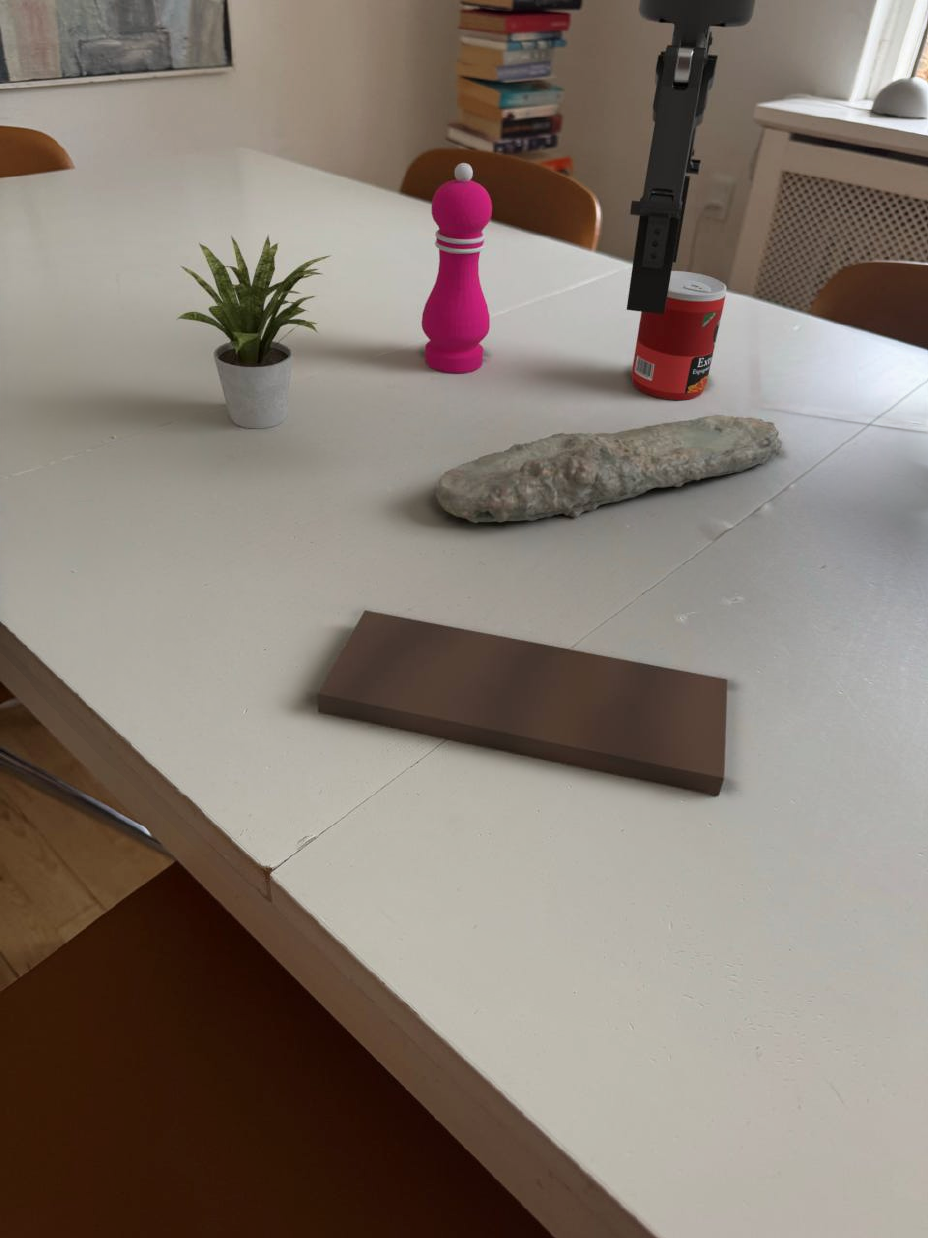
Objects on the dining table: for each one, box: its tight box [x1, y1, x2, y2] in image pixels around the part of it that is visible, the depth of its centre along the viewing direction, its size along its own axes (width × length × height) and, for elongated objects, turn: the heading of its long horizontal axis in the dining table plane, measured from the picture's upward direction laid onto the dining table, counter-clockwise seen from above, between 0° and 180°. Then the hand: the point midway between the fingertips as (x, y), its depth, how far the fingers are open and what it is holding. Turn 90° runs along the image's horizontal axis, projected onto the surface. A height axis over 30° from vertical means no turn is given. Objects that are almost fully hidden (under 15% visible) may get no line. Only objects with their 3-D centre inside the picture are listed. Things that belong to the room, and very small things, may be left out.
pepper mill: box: [421, 162, 493, 374], centre depth 99 cm, size 7×7×20 cm
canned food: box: [631, 270, 727, 401], centre depth 100 cm, size 8×8×11 cm
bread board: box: [316, 609, 728, 797], centre depth 60 cm, size 24×9×2 cm, turn 76°
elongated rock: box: [435, 414, 783, 524], centre depth 83 cm, size 35×5×10 cm
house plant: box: [177, 234, 333, 430], centre depth 85 cm, size 14×14×16 cm
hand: (653, 283), depth 75 cm, fingers open, 13 cm apart
